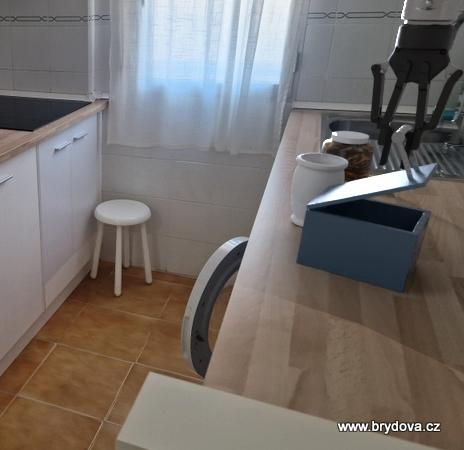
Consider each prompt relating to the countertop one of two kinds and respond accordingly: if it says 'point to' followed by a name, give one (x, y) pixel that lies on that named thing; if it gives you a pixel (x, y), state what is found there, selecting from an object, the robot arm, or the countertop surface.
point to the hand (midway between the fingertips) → (393, 165)
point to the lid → (380, 179)
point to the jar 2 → (351, 153)
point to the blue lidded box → (364, 241)
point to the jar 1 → (313, 180)
